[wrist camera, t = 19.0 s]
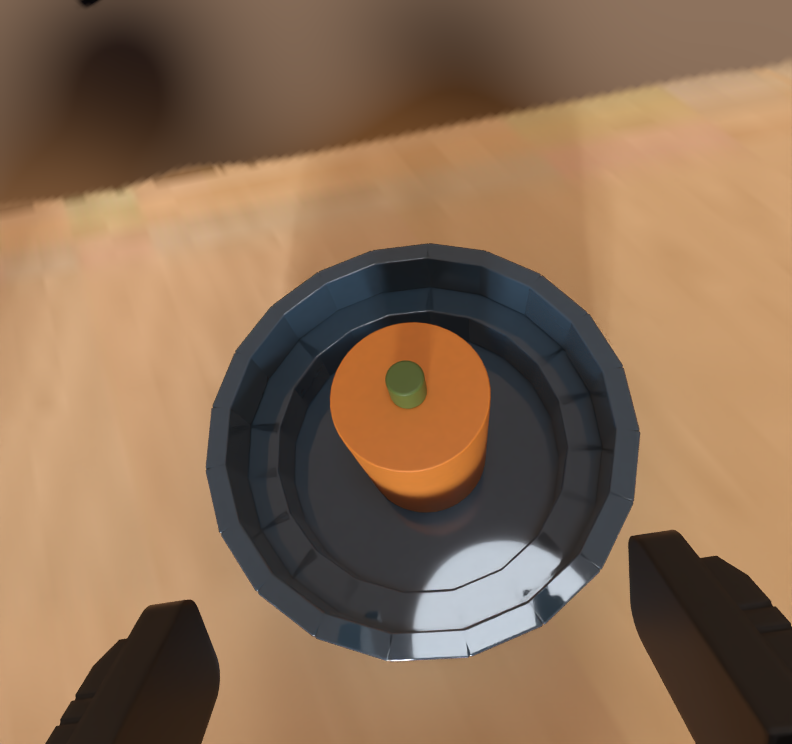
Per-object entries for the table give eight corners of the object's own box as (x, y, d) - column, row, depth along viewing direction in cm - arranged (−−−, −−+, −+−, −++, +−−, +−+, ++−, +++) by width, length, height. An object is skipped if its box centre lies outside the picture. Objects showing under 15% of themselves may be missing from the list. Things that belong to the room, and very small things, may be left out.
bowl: (203, 588, 23) (137, 582, 18) (316, 285, 29) (287, 223, 24) (580, 706, 19) (613, 733, 15) (622, 334, 25) (655, 272, 21)
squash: (353, 496, 23) (297, 440, 16) (384, 387, 25) (348, 291, 18) (472, 526, 22) (472, 480, 15) (495, 409, 24) (506, 317, 16)
